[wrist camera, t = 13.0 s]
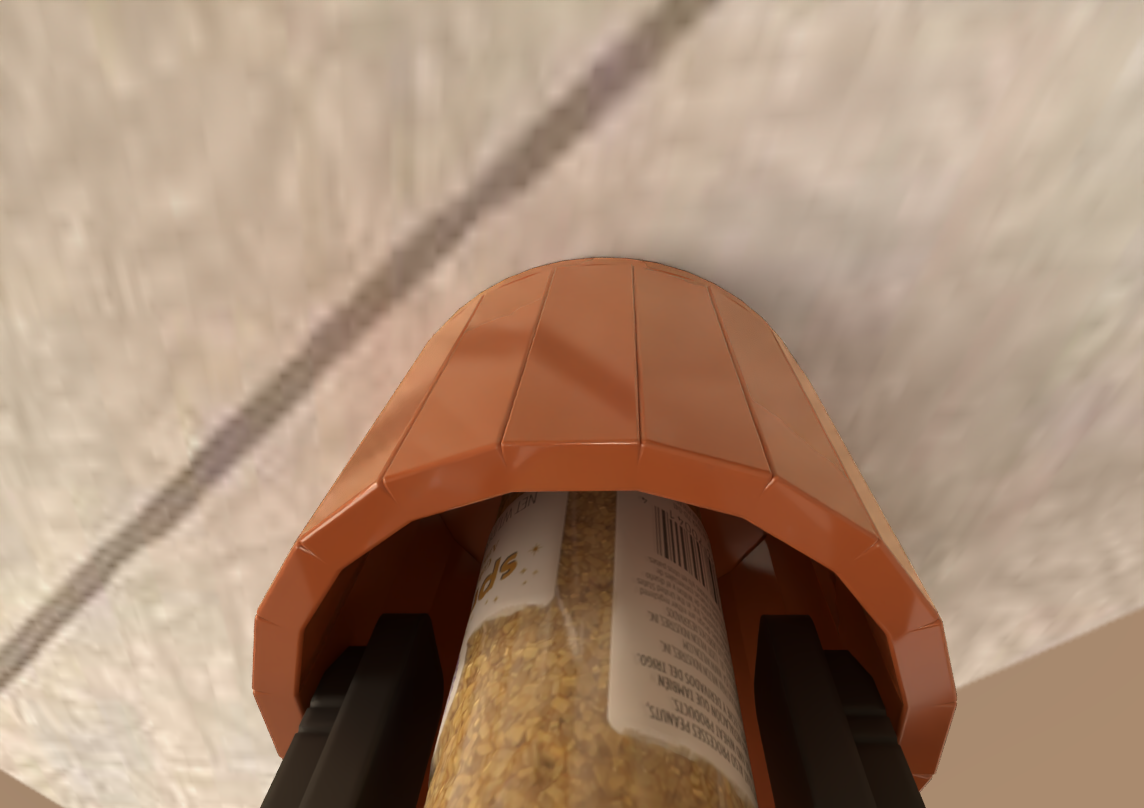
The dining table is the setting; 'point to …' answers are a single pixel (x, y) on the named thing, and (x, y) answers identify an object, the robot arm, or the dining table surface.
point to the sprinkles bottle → (594, 664)
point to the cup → (608, 489)
